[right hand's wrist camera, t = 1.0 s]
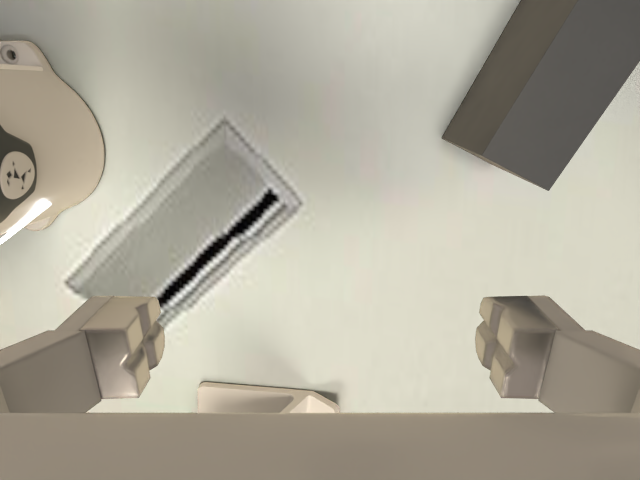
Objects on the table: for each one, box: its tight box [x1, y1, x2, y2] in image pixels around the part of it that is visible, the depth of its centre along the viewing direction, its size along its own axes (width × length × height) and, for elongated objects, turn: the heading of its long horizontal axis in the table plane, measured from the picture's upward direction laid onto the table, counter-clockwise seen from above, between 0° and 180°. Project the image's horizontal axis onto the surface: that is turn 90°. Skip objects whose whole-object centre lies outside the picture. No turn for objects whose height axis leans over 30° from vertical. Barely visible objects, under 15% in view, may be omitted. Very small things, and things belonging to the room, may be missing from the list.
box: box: [442, 0, 640, 191], centre depth 32 cm, size 25×6×11 cm, turn 154°
